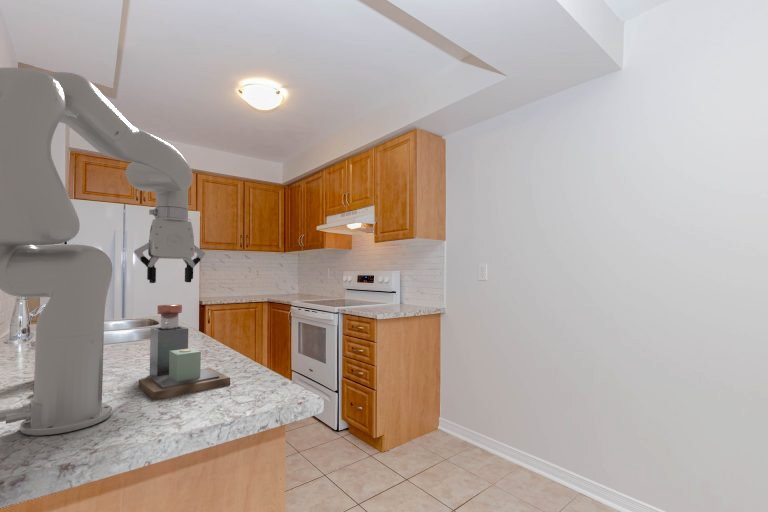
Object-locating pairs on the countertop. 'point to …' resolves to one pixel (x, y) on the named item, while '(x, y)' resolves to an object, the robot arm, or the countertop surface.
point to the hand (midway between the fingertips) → (170, 282)
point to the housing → (184, 364)
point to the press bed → (182, 384)
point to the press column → (165, 348)
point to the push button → (169, 316)
